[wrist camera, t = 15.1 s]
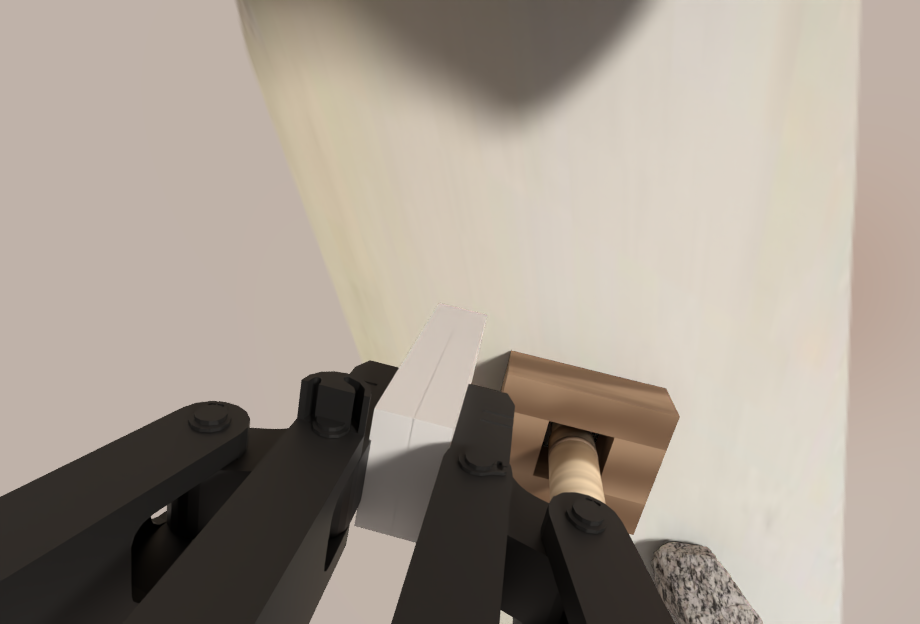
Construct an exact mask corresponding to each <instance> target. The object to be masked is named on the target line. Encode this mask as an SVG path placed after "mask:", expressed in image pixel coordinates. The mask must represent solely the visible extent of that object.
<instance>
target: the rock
mask: <svg viewBox="0 0 920 624" xmlns="http://www.w3.org/2000/svg"><path fill="white" fill-rule="evenodd" d="M654 556H655V558H654V559H653V560H652V562H651V565H652V567H653V570H654V577H655V582H656V588H657V590H658V592H659V594H660V596H661V598H662V600H663V602H664V604H665V605H666V607H667V608H668V610H669V611H670V612H671V613H672V614H673V615H674V616H675V617H676V618H677V620H678V622H679V623H680V624H763V622H762V619H761V618H760V617H759V615H758V614H757V613H756V611H755V610H754V609H753V608H752V607H751V605H750V604H749V602H748V601H747V600H746V598H745V597H744V595H743V594H742V592H741V591H740V589H739V588H738V586H737V585H736V584H735V582H734V581H733V580H732V578H731V576H730V574H729V573H728V572H727V571H726V569H725V568H724V567H723V566H722V564H721V563H720V562H719V561H718V560H717V558H716V556H715V555H714V554H713V553H712V552H711V550H710V549H709V548H707V547H703V546H701V545H691V544H681V543H679V542H670V543H666V544H665V545H662V546H661V547H660V548H659V549H658V551H656V552H654Z"/></svg>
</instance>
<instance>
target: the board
mask: <svg viewBox="0 0 920 624" xmlns="http://www.w3.org/2000/svg"><path fill="white" fill-rule="evenodd" d="M501 392H504V393H508V395H509V396H510V398H511V400H512V401H513V403H514V405H515V412H514V422H513V432H512V443H511V453H510V463H509V464H510V465H511V468H512V473H513V478H514V479H515V480H516V482H517V483H518V484H519V485H520V486H521V487H522V488H524V489H525V490H526V491H527V492H529V493H531V494H532V495H534V496H536V497H538V498H540V499H542V500H544V501H546V502H548V503H549V502H550V489H549V464H548V448H547V447H543V446H542V443H543V440H544V436H545V433H546V429H547V426H548V423H549V421H551V422H555V423H559V424H563V425H567V426H571V427H575V428H579V429H583V430H587V431H591V432H595V433H599V436H598V439H597V442H596V445H595V447H596V451H597V455H598V464H599V469H600V475H601V481H602V486H603V492H604V498H605V503H606V505H607V506H608V507H610V508H611V509H612V510H614V511H615V513H616V514H617V515H618V517H619V518H620V519H621V521H622V522H623V524H624V526H625V528H626V530H627V532H628V534H632V535H633V534H634V532H635V529H636V527H637V524H638V522H639V519H640V517H641V514H642V511H643V509H644V506H645V504H646V501H647V499H648V496H649V494H650V491H651V488H652V486H653V483H654V481H655V478H656V476H657V473H658V471H659V468H660V466H661V463H662V460H663V458H664V455H665V453H666V450H667V448H668V445H669V443H670V440H671V438H672V435H673V432H674V430H675V427H676V425H677V422H678V420H679V417H680V416H679V414H678V412H677V410H676V408H675V406H674V404H673V402H672V400H671V398H670V396H669V394H668V392H667V390H666V389H665V388H661V387H657V386H653V385H649V384H645V383H641V382H637V381H633V380H629V379H625V378H621V377H616V376H612V375H608V374H604V373H600V372H596V371H592V370H588V369H584V368H580V367H576V366H572V365H568V364H564V363H560V362H556V361H552V360H548V359H543V358H539V357H535V356H531V355H527V354H523V353H519V352H515V351H511V353H510V357H509V361H508V365H507V369H506V373H505V377H504V381H503V384H502V388H501Z"/></svg>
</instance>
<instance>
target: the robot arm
mask: <svg viewBox="0 0 920 624" xmlns="http://www.w3.org/2000/svg"><path fill="white" fill-rule="evenodd" d="M486 319H487V314H483V313H479V312H475V311H471V310H467V309H462V308H458V307H454V306H450V305H446V304H442V303H438V305H437V306H436V308H435V310H434V311H433V313H432V314H431V316H430V318H429V319H428V321H427V323H426V324H425V326H424V328H423V329H422V331H421V333H420V334H419V336H418V337H417V339H416V341H415V342H414V344H413V346H412V347H411V349H410V351H409V352H408V354H407V356H406V357H405V359H404V361H403V362H402V364H401V365H400V367H399V368H398V367H394V366H390V365H386V364H382V363H378V362H374V361H368V362H365V363H363V364H361V365H359V366H356V367H355V368H354V369H353V371H352V372H351V373H350V374H347V373H341V372H319V373H315V374H311V375H309V376H307V377H305V378H304V379H302V382H301V390H300V399H299V407H298V417H297V419H296V420H295V421H294V423H293V424H292V425H291V426H290V427H289V428H287V429H260V428H249V425H250V418H249V416H248V414H247V412H246V411H245V410H243V409H242V408H240V407H239V406H237V405H233V404H230V403H226V402H220V401H219V402H217V401H208V402H200V403H194V404H192V405H189V406H186V407H183V408H181V409H179V410H177V411H175V412H172V413H171V414H168V415H166V416H164V417H162V418H160V419H158V420H156V421H154V422H152V423H150V424H148V425H146V426H144V427H142V428H140V429H138V430H136V431H134V432H132V433H130V434H128V435H126V436H124V437H122V438H120V439H118V440H115V441H114V442H111V443H109V444H108V445H105V446H103V447H101V448H99V449H97V450H96V451H93V452H91V453H89V454H87V455H85V456H83V457H81V458H79V459H77V460H75V461H73V462H71V463H69V464H66V465H64V466H62V467H60V468H58V469H56V470H54V471H52V472H50V473H48V474H46V475H44V476H42V477H40V478H38V479H36V480H34V481H32V482H30V483H28V484H26V485H24V486H22V487H20V488H18V489H16V490H14V491H11V492H9V493H7V494H5V495H3V496H1V497H0V624H309V622H310V620H311V618H312V616H313V614H314V612H315V609H316V607H317V605H318V603H319V601H320V599H321V597H322V595H323V592H324V590H325V588H326V586H327V584H328V582H329V580H330V578H331V576H332V573H333V571H334V569H335V567H336V565H337V563H338V561H339V559H340V556H341V554H342V552H343V550H344V548H345V546H346V541H347V537H348V531H349V524H350V522H351V520H352V518H353V516H354V514H355V512H356V510H357V515H356V520H355V526H357V527H361V528H365V529H368V530H372V531H376V532H380V533H383V534H387V535H390V536H394V537H397V538H402V539H405V540H409V541H412V542H416V546H415V549H414V552H413V555H412V559H411V562H410V565H409V568H408V572H407V575H406V578H405V581H404V584H403V587H402V591H401V594H400V597H399V600H398V604H397V607H396V610H395V613H394V617H393V620H392V623H391V624H499V622H500V610H502V611H504V612H505V613H507V614H508V615H510V616H512V617H513V624H675V623H674V621H673V619H672V617H671V615H670V613H669V612H668V610H667V608H666V606H665V604H664V602H663V600H662V598H661V596H660V594H659V592H658V590H657V588H656V586H655V584H654V582H653V580H652V578H651V577H650V575H649V573H648V571H647V569H646V567H645V565H644V563H643V561H642V559H641V557H640V555H639V553H638V551H637V549H636V547H635V545H634V543H633V541H632V540H631V538H630V536H629V534H628V532H627V530H626V528H625V526H624V524H623V522H622V521H621V519H620V518H619V517H618V515H617V514H616V513H615V511H614V510H612V509H611V508H610V507H608V506H607V505H606V504H605V503H603V502H602V501H600V500H598V499H596V498H594V497H591V496H589V495H585V494H581V493H577V492H562V493H560V494H558V495H556V496H553V498H552V499H551V501H550V502H549V503H548V502H546V501H544V500H542V499H540V498H538V497H536V496H534V495H532V494H531V493H529V492H527V491H526V490H525V489H524V488H522V487H521V486H520V485H519V484H518V483H517V482H516V480H515V479H514V478H513V473H512V468H511V465H510V464H509V463H510V453H511V443H512V432H513V422H514V412H515V405H514V403H513V401H512V400H511V398H510V396H509V395H508V393H504V392H500V391H496V390H492V389H488V388H484V387H480V386H476V385H472V384H471V383H472V379H473V375H474V370H475V366H476V362H477V358H478V353H479V349H480V345H481V341H482V336H483V332H484V328H485V324H486ZM166 505H167V511H166V512H164V513H163V514H161V515H160V516H159V517H156V518H154V519H151V516H152V515H153V514H154V513H156V512H157V511H159V510H160V509H162V508H163V507H165V506H166Z"/></svg>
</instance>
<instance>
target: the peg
mask: <svg viewBox="0 0 920 624" xmlns="http://www.w3.org/2000/svg"><path fill="white" fill-rule="evenodd" d="M548 464H549V489H550V501H551V499H552V498H553V496H556V495H558V494H560V493H562V492H577V493H581V494H585V495H589V496H591V497H594V498H596V499H598V500H600V501H602V502H603V503H605V498H604V492H603V486H602V481H601V475H600V469H599V464H598V455H597V451H596V447H595V441H594V438H593V436H592V434H591V433H590V432H589V431H587V430H583V429H579V428H575V427H571V426H567V425H563V424H559V423H555V422H552V423H551V435H550V437H549V441H548ZM605 504H606V503H605Z"/></svg>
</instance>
